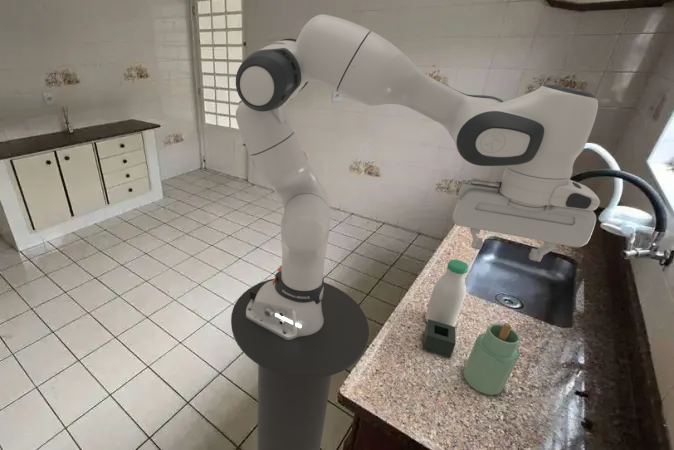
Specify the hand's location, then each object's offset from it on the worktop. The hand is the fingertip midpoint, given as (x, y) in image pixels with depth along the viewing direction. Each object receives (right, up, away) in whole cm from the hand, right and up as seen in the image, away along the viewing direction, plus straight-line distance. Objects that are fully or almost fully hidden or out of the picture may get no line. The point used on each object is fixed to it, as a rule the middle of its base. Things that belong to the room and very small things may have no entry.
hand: (504, 253), depth 67 cm
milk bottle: (+5, -22, +33) cm, 40 cm away
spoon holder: (+1, -26, +25) cm, 36 cm away
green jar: (+6, -31, +16) cm, 36 cm away
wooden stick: (+6, -31, +15) cm, 35 cm away
